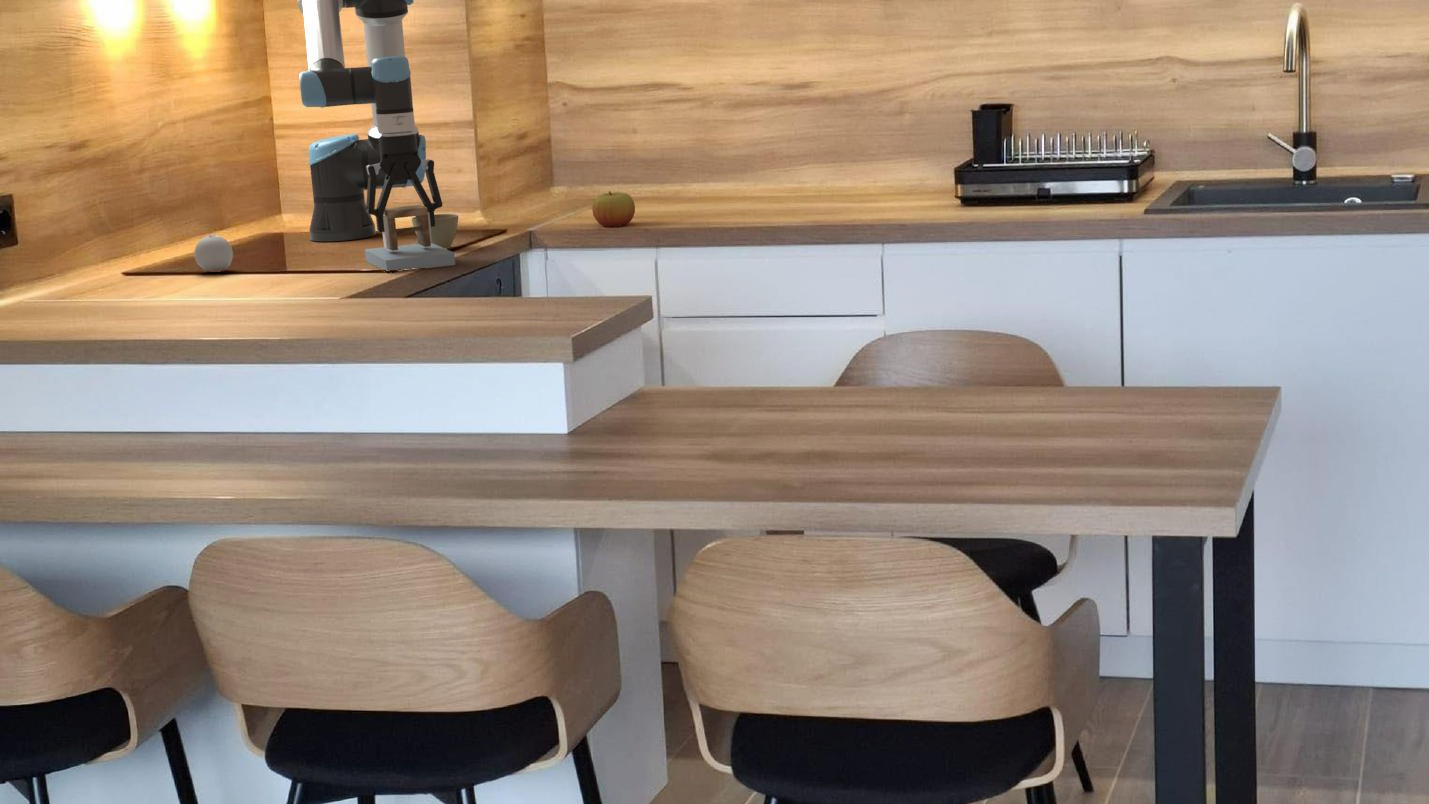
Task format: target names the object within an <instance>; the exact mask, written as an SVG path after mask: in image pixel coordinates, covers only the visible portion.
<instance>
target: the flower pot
mask: <svg viewBox="0 0 1429 804" xmlns="http://www.w3.org/2000/svg"><path fill="white" fill-rule="evenodd" d="M434 217H435V226H434V227H431V235H432V243H433V244H435V245H438V246H440V247H442V248H449V249H450V248H451V246H452V244H453V242H454V239H455V237H456V234H457V231H458V230H457V229H458V224H459V214H455V213H437V214H436V213H434ZM411 224H412V227H416V217H415V216H412V217H411ZM414 232H415V234H416V236H417V231H414Z"/></svg>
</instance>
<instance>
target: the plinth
mask: <svg viewBox="0 0 1429 804" xmlns="http://www.w3.org/2000/svg"><path fill="white" fill-rule="evenodd" d="M364 256H365V261H366V263H368V264H369V265H372V266H374V265H375V266H374V267H376V266H377V267H379V268H383V269H385V270H386V271H390V270H399V269H403V270H404V269H412V268H425V269H433V268H441V267H442V268H443V267H449V266H456V257H455V252H454V251H451V250H449V249H445V248H442V247H440V246H438V245H435V244H433V243H432V244H431V246H429V247H424V246H422V245H420V244H418V243H412V244H401V245H398V250H394V251H392V250H390V249H387V248H385V247H384V246H383V247H374V248H365V249H364ZM377 267H376V268H377ZM379 268H378V269H379Z"/></svg>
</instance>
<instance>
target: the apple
mask: <svg viewBox="0 0 1429 804" xmlns="http://www.w3.org/2000/svg"><path fill="white" fill-rule="evenodd" d="M635 205H636V204H635V201H634V199H633V198H632V196H631V195H630V194H628V193H625V192H618V191H617V192H611V191H610V190H609V191H608V192H607V193H603V194H602V193H601V194H600V195H598V196H597V197H596V198H595V199H594V200H593V202H592V205H591V206H592V207H591V209H592V215H593V217H594V219H595V221H596V222H597V223H598V224H599V225H601V226H602V227H605V226H608V227H607V228H610V227H609V226H618V227H620V226H619V225H624V226H626V224H627V225H628V224H629V223H631V221H632V220H633V218H634V215H635V213H636V206H635Z"/></svg>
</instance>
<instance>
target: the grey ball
mask: <svg viewBox="0 0 1429 804" xmlns="http://www.w3.org/2000/svg"><path fill="white" fill-rule="evenodd" d="M194 248H195V249H194V253H193V254H194V259H195V262H196V263H197V265H198V266H199V267H200V268H201V269H202V270H204V271H205V270H212V271H213V270H214V271H218V270H224V271H225V270H227V269H228V267H229V266H230V265H231V263H232V261H233V258H234V252H233V248H232V245H231V243H230V242H229V241H228V240H227V239H226V238H224V237H222V236H220V235H217V234H210V233H209V234H208V235H207V236H205V237H203V238H201V239H200V240H199V241H198V242H197V244H196V245H195V247H194Z"/></svg>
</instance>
